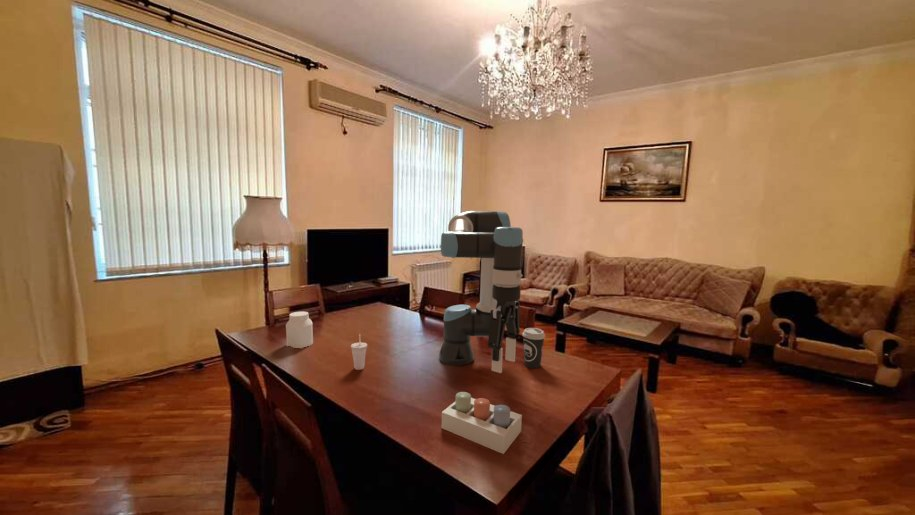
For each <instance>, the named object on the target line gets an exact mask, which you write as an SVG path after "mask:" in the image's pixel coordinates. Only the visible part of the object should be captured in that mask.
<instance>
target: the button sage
mask: <svg viewBox="0 0 915 515" xmlns="http://www.w3.org/2000/svg"><path fill="white" fill-rule="evenodd" d="M471 398H472V395H471V393H469V392H466V391H460V392H457V393H456V394H455V401H456V403H455V410H457V411H459V412H462V413H465V414H467V413H468V412H469V411H470V410H471Z"/></svg>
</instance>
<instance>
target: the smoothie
mask: <svg viewBox="0 0 915 515" xmlns="http://www.w3.org/2000/svg"><path fill="white" fill-rule="evenodd" d="M358 336H359V337H358V339H359V342H354V343H352V344H351V345H350V349H351V353H352V359H353V366H354V370H357V371H359V370H364V369H365V362H366V354H367V348H368V343H366V342H362V341H361V339H362V338H361V337H362V336H361V333H359V334H358Z"/></svg>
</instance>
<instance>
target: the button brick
mask: <svg viewBox="0 0 915 515" xmlns="http://www.w3.org/2000/svg"><path fill="white" fill-rule="evenodd" d="M475 399H476V400H475V401H474V417H475V418H478V419H481V420H483V421H486V420H487V419H488V418H489V417H490V404H491V402H490V400H489V399H488V398H484V397H479V398H475Z"/></svg>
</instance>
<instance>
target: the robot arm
mask: <svg viewBox="0 0 915 515" xmlns="http://www.w3.org/2000/svg"><path fill="white" fill-rule="evenodd" d="M447 225H448V226H447V230H448V231H443V232H442V233H441V236H440V254H441V256H442V257H444V258H452V259H454V258H455V259H456V258H470V259H471V258H474V259H475V258H477V259H481V260H480V261H481V263H480V265H481V266H480V290H479V292H480V293H479V302H478V303H476V304H475V305H476V306H475V308H472V307H471V306H470V305H468V304H456V305H455V304H454V305H451V306H449V307H447V308H445V309H444V314H443V342H442V343H441V344H442V345H441V348H440V351H439V354H438V355H439V356H438V357H439V360H440V362H441V363H444V364H445V365H450V366H465V365H468V364H471V363H473V361H474V359H475V358H474V357H475V353H474V351H473V348H472V344H471V337H480V338H481V337H484V338H485V337H486V338H488V340H487V347H488V348H490V349H491V371H492V372H494V373H495V372H496V373H499V374H502V373H503V350H504V348H503V347H502V344H503V340H504V334H505V331H506V334H507V337H506V338H505V354H504V355H505V356H504V357H505V358H504V359H505V361H509V362H513V363H515V362H516V349H517V347H516V345H517V340H519V339H520V331H521V330H520V305H521V304H520V301H519V300H520V299H521V291H522V288H521V285H520V284H521V283H522V281H521V280H522V278H523V274H522V263H523V262H522V260H523V258H522V257H523V243H524V237H523V235H524V233H523V229H522V228H521V227H520V226H519V227H515V226H511V220H510V215H509V214H508V213H507V212H506V211H497V210H467V211H463V212H461V213H458V214H456V215H454V216H453V217H451V219H450V220H449V222H448V224H447Z"/></svg>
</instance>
